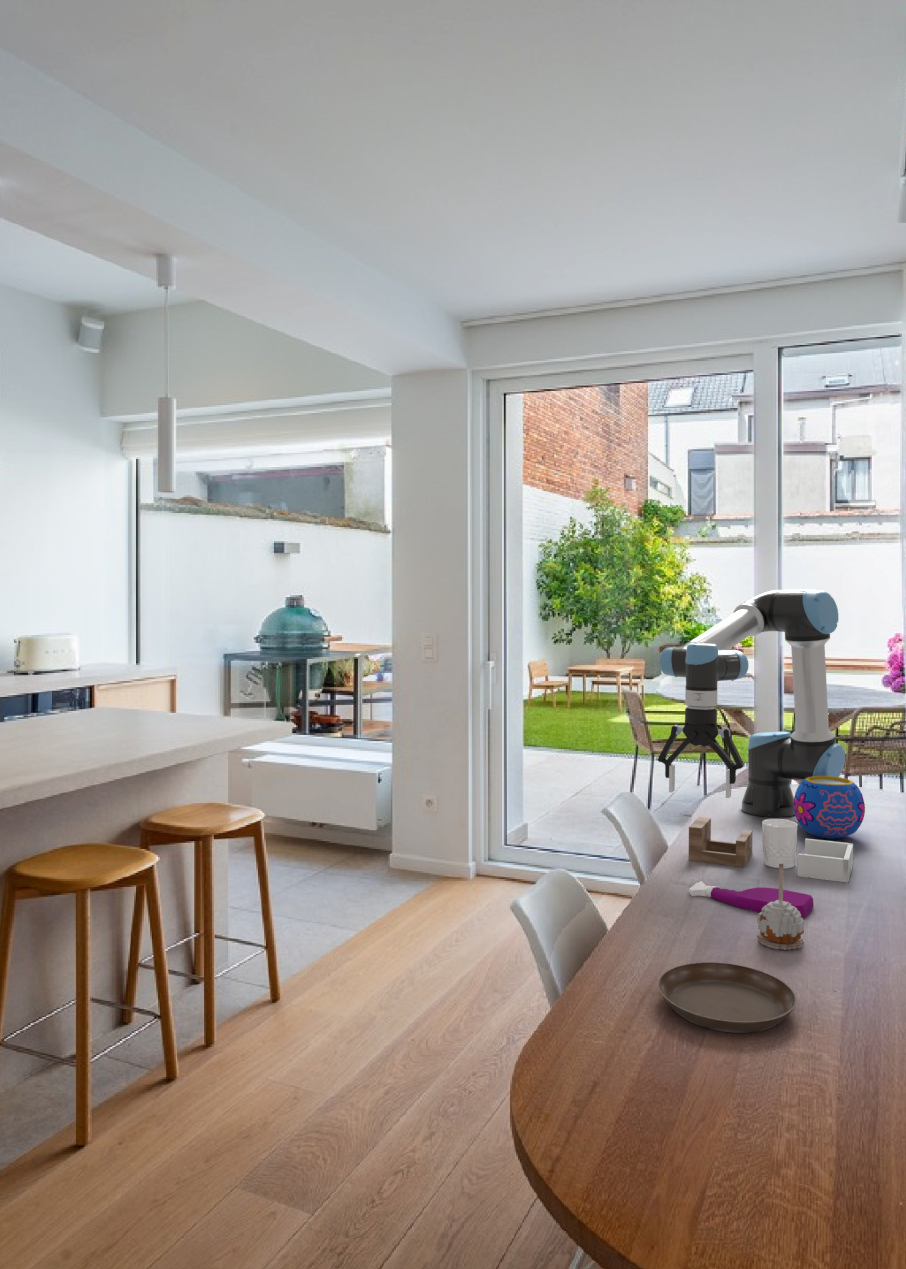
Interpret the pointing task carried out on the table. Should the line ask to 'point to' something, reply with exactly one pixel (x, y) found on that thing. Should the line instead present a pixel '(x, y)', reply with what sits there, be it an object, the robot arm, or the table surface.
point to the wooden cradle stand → (718, 845)
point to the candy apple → (780, 923)
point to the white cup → (779, 842)
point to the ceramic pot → (829, 806)
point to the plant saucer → (727, 996)
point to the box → (826, 860)
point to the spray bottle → (754, 897)
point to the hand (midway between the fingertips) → (699, 794)
